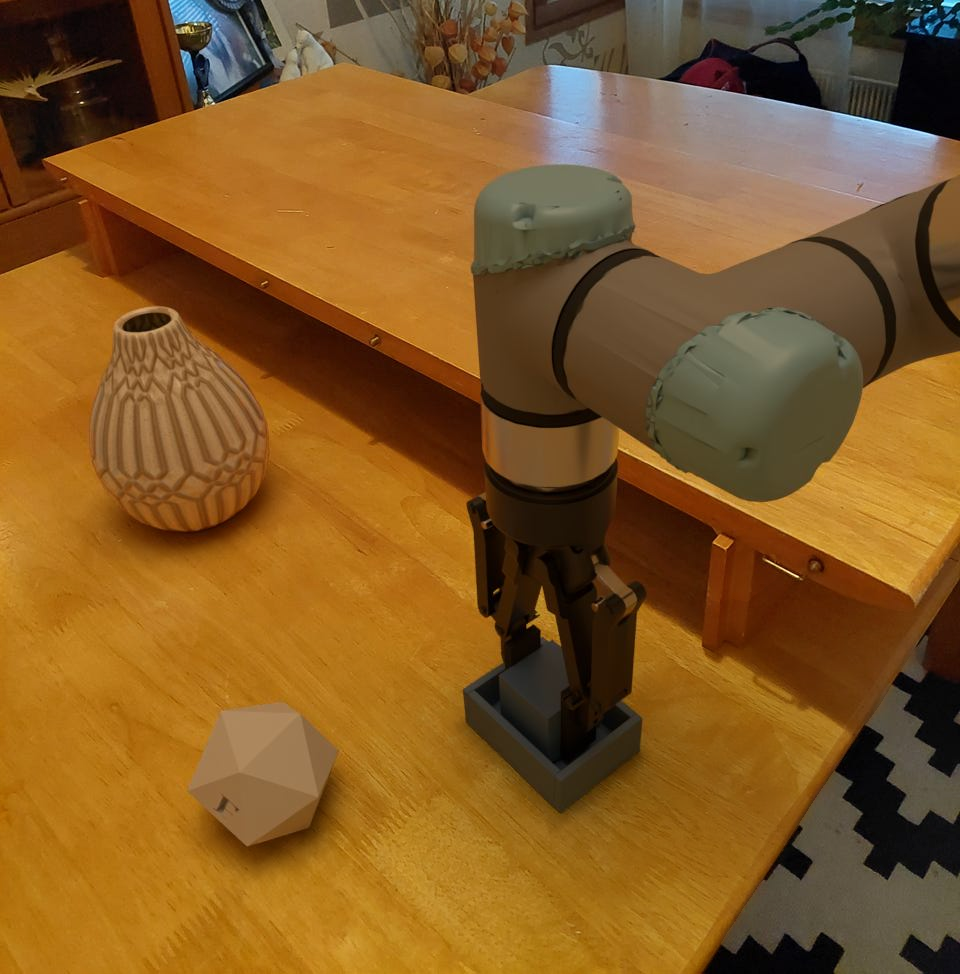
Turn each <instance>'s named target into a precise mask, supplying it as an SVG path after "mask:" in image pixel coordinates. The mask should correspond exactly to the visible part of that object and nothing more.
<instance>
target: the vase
mask: <svg viewBox="0 0 960 974" xmlns="http://www.w3.org/2000/svg"><path fill="white" fill-rule="evenodd" d="M111 347H112V348H111V355H110V358H109V361H108V363H107V364H106V367H105V369H104V371H103V373H102V375H101V377H100V380H99V382H98V384H97V388H96V390H95V393H94V396H93V400H92V403H91V407H90V412H89V413H90V414H89V419H88V420H89V423H88V446H89V455H90V459H91V464H92V467H93V470H94V472H95V475H96V477H97V479H98V480H99V482H100V484H101V486H102V488H103V489H104V491H105V492H106V494H107V496H108V497H110V499H111V500H112V501H113V502H114V503H115V504H116V505H117V506H118V507H119V508H120V509H121V510H122V511H124V512H125V513H126V514H128V515H129V516H130V517H131V518H133V519H135V520H137V522H140V523H141V524H144V525H147V526H149V527H153V528H156V529H159V530H163V531H169V532H170V531H171V532H187V533H188V532H197V531H202V530H208V529H210V528H213V527H216V526H219V525H220V524H223V523H224V522H227V520H229V519H231V518H233V517H234V516H236V515H237V514H238V513H239V512H240V511H241V510H243V509H244V508H245V507H246V506H247V505H248V504H249V502H251V500H252V499H253V498H254V497H255V495H256V494H257V492H258V491H259V489H260V487H261V485H262V483H263V481H264V478H265V476H266V472H267V468H268V464H269V459H270V431H269V426H268V422H267V418H266V416H265V413H264V411H263V409H262V406H261V404H260V403H259V400H258V398H257V397H256V394H255V393H254V392H253V390H252V389H251V387H250V385H249V384H248V382H247V381H246V380H245V378H243V376H242V375H241V374H240V373H239V372H238V370H236V369H235V368H234V366H232V365H231V364H230V363H229V362H228V361H227V360H226V359H224V357H222V356H221V355H220V354H218V353H217V352H216V351H215V350H213V349H212V348H210V347H209V346H208V345H206V344H205V343H204V342H202V341H200V340H199V339H198V338H197V337H196V336H195V335H194V333H193V332H192V331H191V330H190V329H189V327H188V325H187V324H186V323H185V321H184V319H183V318H182V316H181V315H180V314H179V312H177V310H175V309H173V308H171V307H168V306H161V305H159V306H158V305H155V306H146V307H145V306H144V307H140V308H136V309H134V310H131V311H128V312H126V313H124V314H123V315H121V316H119V318H117V319H116V321H115V322H114V324H113V327H112V346H111Z"/></svg>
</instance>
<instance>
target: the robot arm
mask: <svg viewBox="0 0 960 974" xmlns="http://www.w3.org/2000/svg"><path fill="white" fill-rule="evenodd" d="M473 207H474V208H473V261H472V262H471V265H470V273H471V274H472V281H473V296H474V310H475V311H474V312H475V324H476V339H477V354H478V368H479V382H480V389H481V390H480V394H479V396H480V424H481V447H482V448H481V450H482V453H483V456H484V459H485V460H484V463H483V467H484V485H485V486H484V487H485V489H484V490H485V491H484V492H483V493H481V494H479V495H476V496H475V497H473V498H471V499H469V500H467V501H466V505H465V506H466V510H467V514H468V518H469V521H470V523H471V528H472V530H473V549H474V550H473V551H474V568H475V584H476V585H475V586H476V588H475V589H476V603H477V604H476V605H477V609H478V612H479V614H480V615H481V616H482V617H483V618H485V619H488V618H489V617H491V618H492V619H493V621H495V622H494V631H495V632H496V635H498V637H500V656H501V659H502V663H503V662H504V663H505V671H506V670H507V669H509V668H510V667H512V666H514V665H515V664H517V663H518V662H520V661H521V660H523V659H524V658H526V657H527V656H529V655H530V654H532V653H533V652H535V651H536V650H538V649H539V648H541V637H542V631H541V630H542V629H540V628H539V627H538V626H536V625H535V624H532V625H530V626H528V624H530V623H531V622H533V621H534V620H536V619H537V618H539V617H540V616H541V614H540V613H538V611H537V610H536V607H537V604H538V601H539V597H540V594H541V590H542V592H543V597H544V603H545V607H546V611H548V612H549V613H551V614H553V615H554V618H555V622H556V623H555V624H556V628H557V633H558V637H559V642H560V646H561V648H562V653H563V657H564V662H565V667H566V672H567V677H568V682H569V686H568V687H567V688H565V689H564V690H563V691H561V752H560V755H561V756H562V757H563V758H565V759H566V760H567V761H569V760H570V759H571V758H573V757H574V756H575V755H577V754H578V753H579V752H580V751H582V750H583V749H584V748H586V747H587V746H588V745H590V744H591V743H592V742H594V741H595V740H596V726H597V724H599V723H600V722H601V721H602V720H603V714H604V713H605V712H606V711H608V710H609V709H610V708H612V707H613V706H614V705H616V704H617V703H618V702H620V701H623V700H624V699H626V698H627V697H628V696H629V695H631V694H632V692H633V678H634V677H633V675H634V664H635V663H634V662H635V647H636V635H637V622H638V621H637V620H638V612H639V610H640V608H641V607H642V605H643V603H644V602H645V600H646V599H647V590H646V587H645V586H644V585H643V584H642V583H641V582H640V581H638V580H631V581H630V582H629V583H627V584H625V582H623V581H622V579H621V578H620V577H619V576H618V575H617V574H616V573H615V572H614V571H613V569H612V568H611V567H610V566H611V555H610V552H609V550H608V546H607V542H606V535H607V533H608V530H609V527H610V525H611V522H612V521H613V518H614V515H615V512H616V506H617V490H618V476H619V475H618V474H619V473H618V472H619V463H618V458H617V456H618V454H619V442H620V441H619V440H620V430H622V431H623V432H624V433H626V434H627V435H629V436H631V438H633V439H635V440H636V441H638V442H640V443H641V444H643V445H644V446H646V447H647V448H649V450H652V451H653V452H654V453H656V454H658V455H659V457H660V458H661V459H663V460H665V461H666V463H668V464H669V465H670V466H673V467H674V468H675V469H676V470H678V471H681V472H682V473H684V474H689V473H690V474H692V475H694V476H695V477H697V478H700V479H702V480H703V481H706V482H707V483H709V484H711V485H713V486H715V487H717V488H719V489H720V490H722V491H724V492H726V493H728V494H730V495H732V496H734V497H735V498H738V499H740V500H743V501H747V502H753V503H768V502H773V501H778V500H781V499H784V498H786V497H788V496H791V495H792V494H794V493H796V492H798V491H799V490H800V489H802V488H803V487H805V486H806V485H807V484H809V483H810V482H811V481H812V479H813V478H814V477H815V474H816V472H817V470H818V469H819V468H820V466H821V465H822V464H826V463H828V462H830V461H831V460H832V459H833V458H834V456H835V455H836V454H837V453H838V451H839V450H840V448H841V446H842V445H843V443H844V442H845V440H846V438H847V436H848V434H849V432H850V430H851V428H852V426H853V424H854V422H855V418H856V416H857V413H858V410H859V407H860V404H861V401H862V400H861V399H862V397H863V390H864V389H865V388H866V387H868V386H869V385H871V384H872V383H874V382H876V381H878V380H881V379H882V378H884V377H886V376H888V375H890V374H892V373H894V372H896V371H898V370H901V369H902V368H904V367H906V366H909V365H911V364H914V363H918V362H921V361H924V360H927V359H932V358H935V357H940V356H941V357H942V356H946V355H948V354H953V353H959V352H960V174H958V175H956V176H953V177H952V178H949V179H946V180H943V181H941V182H936V183H934V184H931V185H929V186H927V187H924V188H921V189H919V190H917V191H912V192H909V193H906V194H904V195H900V196H898V197H895V198H893V199H891V200H889V201H887V202H885V203H884V202H883V203H881V204H879V205H877V206H875V207H872V208H870V209H869V210H867V211H866V212H863V213H860V214H858V215H856V216H854V217H851V218H848V219H845V220H843V221H842V222H839V223H837V224H834V225H831V226H829V227H827V228H824V229H823V230H820V231H818V232H816V233H813V234H811V235H809V236H806V237H804V238H800V239H797V240H794V241H790V242H789V243H787V244H784V245H783V246H781V247H778V248H776V249H772V250H770V251H768V252H765V253H762V254H760V255H757V256H754V257H752V258H749V259H747V260H745V261H741V262H739V263H736V264H734V265H731V266H729V267H726V268H724V269H722V270H719V271H717V272H713V273H703V272H698V271H696V270H694V269H691V268H690V267H686V266H684V265H682V264H679V263H677V262H675V261H673V260H671V259H668V258H666V257H663V256H660V255H658V254H655V253H654V252H653V251H650V250H648V249H646V248H645V247H642V246H639V245H636V244H635V243H633V241H632V237H633V233H635V229H636V223H635V222H634V215H633V197H632V194H631V192H630V189H628V188H627V186H625V185H624V184H623V182H622V180H621V179H620V178H619V177H618V176H617V175H616V174H613V173H611V172H609V171H607V170H604V169H600V168H597V167H592V166H587V165H586V166H585V165H580V164H579V165H578V164H561V163H560V164H557V163H556V164H542V165H533V166H528V167H524V168H521V169H520V168H519V169H517V170H513V171H510V172H507V173H504V174H502V175H499V176H498V177H496V178H494V179H493V180H491V181H490V182H489V183H487V184H486V185H485V186H484V187H483V188H482V189H481V191H480V192H479V193H478V196H477V198H476V200H475V203H474V206H473ZM497 590H498V591H497ZM527 626H528V627H527Z"/></svg>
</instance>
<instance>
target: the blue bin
mask: <svg viewBox="0 0 960 974" xmlns="http://www.w3.org/2000/svg"><path fill="white" fill-rule="evenodd" d="M549 641H550V640H547V639H546V638H545V637H544V636H541V647H542V646H543V645H545V644H546V643H548V642H549ZM504 671H505V663H504V662H503V661H502V663H500V664H498V665H497V666H495V667H494V668H492V669H490V671H488V672H486V673H485V674H483V675H482V676H480V677H479V678H477V679H476V680H474V681H473V682H472V683H470V684H468V685H467V686H465V687H463V688H462V696H463V710H464V719H465V722H466V724H468V725H469V727H470V728H472V729H473V730H474V731H475V732H476V734H478V735H479V736H480V737H481V738H482V739H483V740H484V741H485V742H486V743H487V744H488V745H489V746H490V747H491V748H492V749H493V750H494V751H495V752H496V753H497V754H499V756H500V757H502V758H503V760H505V761H506V762H507V763H508V765H510V766H511V767H512V768H513V769H514V770H515V771H516V772H517V773H518V774H519V775H520V776H521V777H522V778H523V779H524V780H525V781H526V782H527V783H528V784H529V785H530V786H531V787H532V788H533V789H534V790H535V791H536V792H537V793H538V794H539V795H540V796H541V797H542V798H543V799H544V800H545V801H547V802H548V803H549V804H550V806H552V807H553V808H554V809H555V810H556V812H558V813H559V814H562V813H563V812H564V811H566V810H567V809H568V808H570V807H571V806H572V805H573V804H574V803H576V802H577V801H578V800H580V799H581V798H582V797H584V795H586V794H587V793H589V792H590V791H591V790H592V789H594V788H595V787H596V786H597V785H599V784H600V783H601V782H603V780H605V779H606V778H607V777H609V776H610V775H611V774H612V773H614V772H615V771H617V770H618V769H619V768H620V767H621V766H623V765H624V764H625V763H626V762H627V761H630V759H631V758H633V757H634V756H635V755H637V754H638V753H639V752H640V751H641V743H642V742H641V741H642V730H643V720H644V719H643V717H642V716H641V715H640V714H639V713H637V712H636V711H635V710H634V709H632V708H631V707H630V706H629V705H627V704H626V703H625V702H624V701H623V700H621V701H620V702H618V703H617V704H616V705H614V706H613V707H612V708H610V709H609V710H608V711H606V712H605V713H604V714H603V720H602V721H601V722H600V727H599V728H598V729H596V740H595V741H594V742H592V743H591V744H590V745H588V746H587V747H586V748H584V749H583V750H582V751H580V752H579V753H578V754H577V755H575V756H574V757H573V758H571V759H570V760H569V761H567V760H566V759H565V758H563V757H562V756H560V757H559V758H558V759H556V760H555V761H554V762H551V761H550V760H549V759H548V758H547V757H546V756H544V755H543V754H542V753H541V752H540V751H539V750H538V749H537V748H536V747H535V746H534V745H533V744H532V743H531V742H529V741H528V740H527V739H526V738H525V737H524V736H523V735H522V734H521V733H520V732H519V731H518V730H517V729H515V728H514V727H513V726H512V725H511V724H510V723H509V722H508V721H507V720H506V719H505V718H504V717H503V716H502V715H501V709H500V689H499V675H500V674H501V673H503V672H504Z"/></svg>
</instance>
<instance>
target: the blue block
mask: <svg viewBox="0 0 960 974" xmlns="http://www.w3.org/2000/svg"><path fill="white" fill-rule="evenodd" d="M548 641H549V642H548V643H546V644H545V645H543V646H542V647H541V648H539V649H538V650H536V651H535V652H533V653H532V654H530V655H529V656H527V657H526V658H524V659H523V660H521V661H520V662H518V663H517V664H515V665H514V666H512V667H510V668H509V669H507V670H506V671H504V672H503V673H501V674H500V675H499V689H500V709H501V715H502V716H503V717H504V718H505V719H506V720H507V721H508V722H509V723H510V724H511V725H512V726H513V727H514V728H515V729H517V730H518V731H519V732H520V733H521V734H522V735H523V736H524V737H525V738H526V739H527V740H528V741H529V742H531V743H532V744H533V745H534V746H535V747H536V748H537V749H538V750H539V751H540V752H541V753H542V754H543V755H544V756H546V757H547V758H548V759H549V760H550V761H551V762H554V761H555V760H556V759H558V758H559V757H560V756H561V755H560V752H561V691H563V690H564V689H565V688H567V687H568V686H569V682H568V677H567V672H566V667H565V662H564V657H563V653H562V648H561V644H558V643H557V642H556V641H555V640H554V639H551V640H548ZM599 727H600V723H599V724H597V726H596V729H598V728H599Z"/></svg>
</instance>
